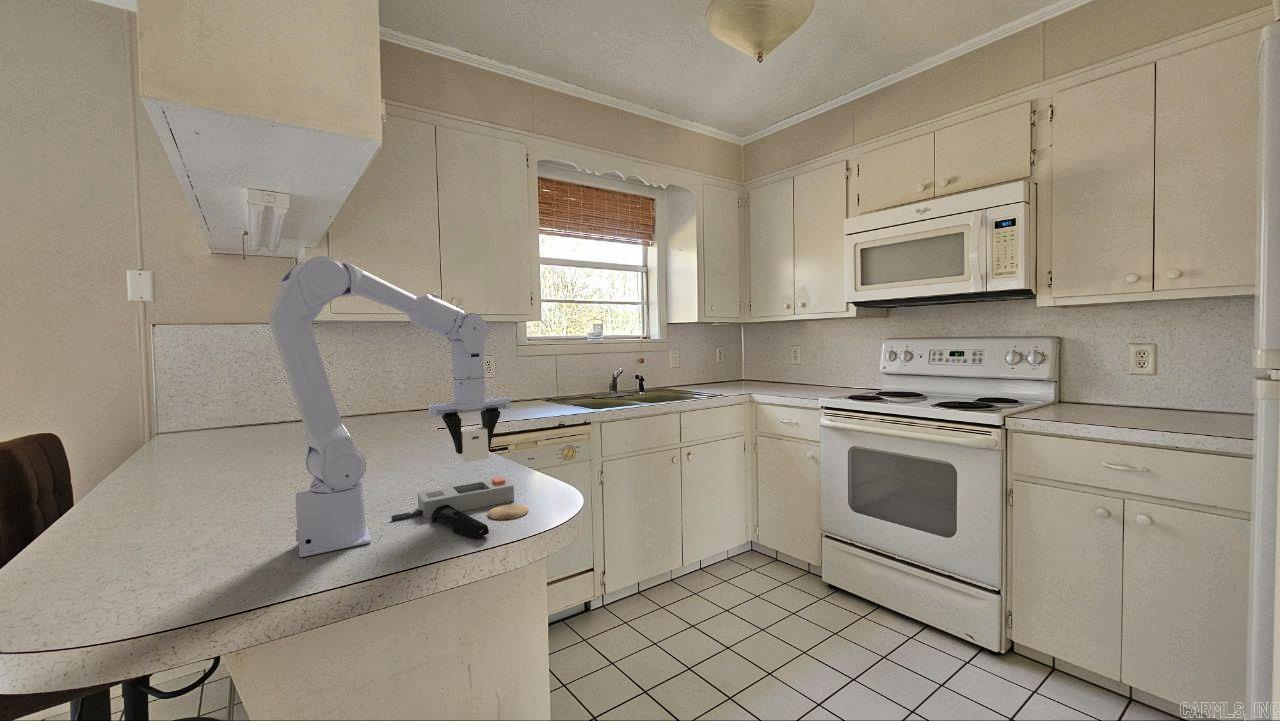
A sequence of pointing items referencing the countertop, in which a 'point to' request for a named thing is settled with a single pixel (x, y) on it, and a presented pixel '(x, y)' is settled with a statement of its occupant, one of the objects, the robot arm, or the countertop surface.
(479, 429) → the box
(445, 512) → the electric trimmer
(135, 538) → the countertop surface
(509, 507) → the coaster
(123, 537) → the countertop surface
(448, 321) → the robot arm
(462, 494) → the power strip
